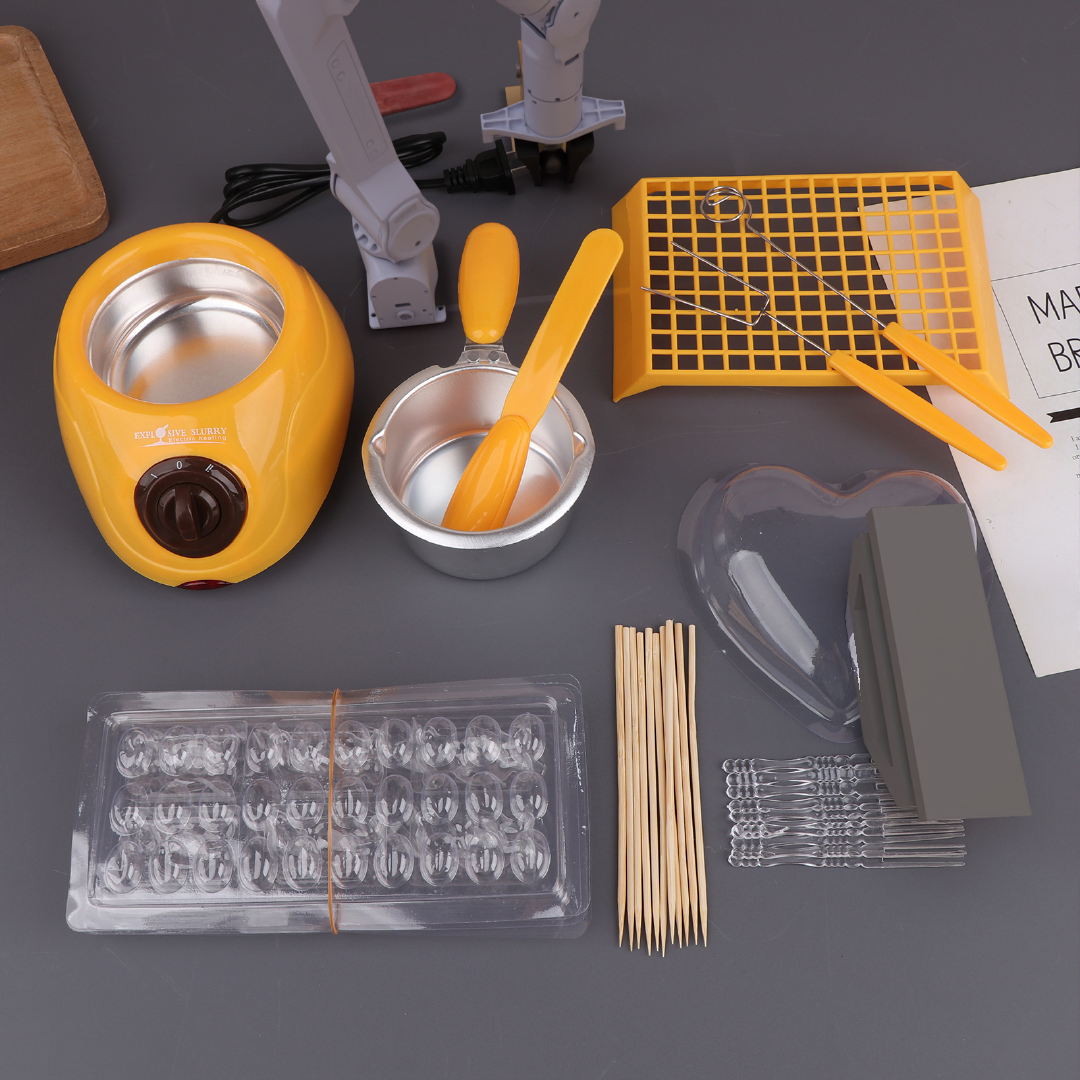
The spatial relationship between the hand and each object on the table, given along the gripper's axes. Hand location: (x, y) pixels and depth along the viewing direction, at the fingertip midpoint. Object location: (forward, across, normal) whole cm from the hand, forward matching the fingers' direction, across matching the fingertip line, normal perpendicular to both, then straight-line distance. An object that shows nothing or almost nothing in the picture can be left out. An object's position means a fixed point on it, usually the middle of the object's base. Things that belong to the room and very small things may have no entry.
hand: (553, 178), depth 98 cm
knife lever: (-4, 0, -5) cm, 6 cm away
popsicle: (+1, +17, -13) cm, 22 cm away
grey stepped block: (+1, -25, +58) cm, 63 cm away
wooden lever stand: (+1, 0, -8) cm, 8 cm away
